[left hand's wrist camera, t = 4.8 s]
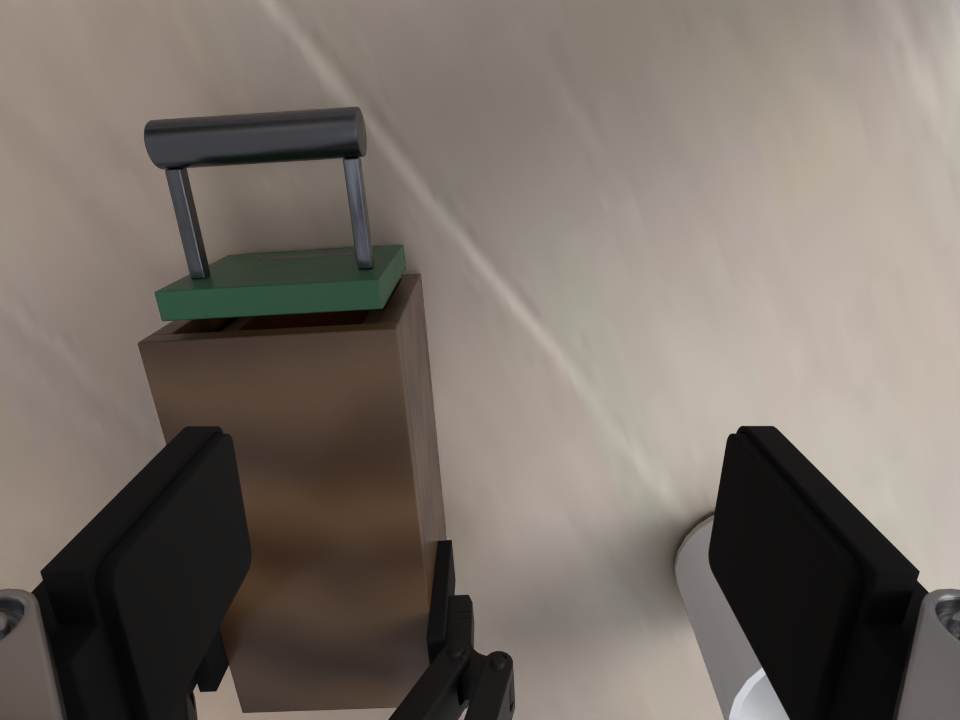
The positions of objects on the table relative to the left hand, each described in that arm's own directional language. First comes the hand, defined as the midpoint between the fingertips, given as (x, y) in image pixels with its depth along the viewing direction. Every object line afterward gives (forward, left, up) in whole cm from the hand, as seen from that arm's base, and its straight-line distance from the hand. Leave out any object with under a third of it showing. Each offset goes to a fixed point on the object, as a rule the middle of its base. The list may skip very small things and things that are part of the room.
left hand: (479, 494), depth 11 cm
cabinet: (+6, -11, -21) cm, 24 cm away
